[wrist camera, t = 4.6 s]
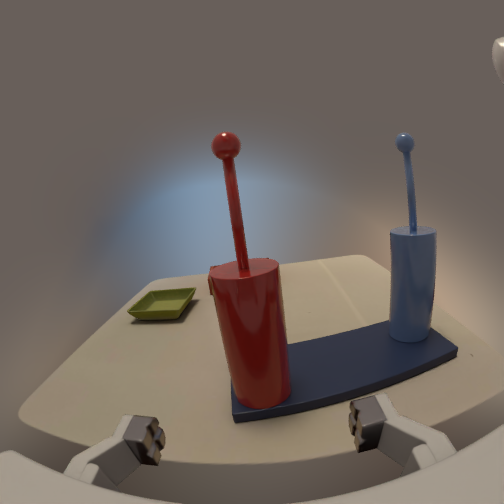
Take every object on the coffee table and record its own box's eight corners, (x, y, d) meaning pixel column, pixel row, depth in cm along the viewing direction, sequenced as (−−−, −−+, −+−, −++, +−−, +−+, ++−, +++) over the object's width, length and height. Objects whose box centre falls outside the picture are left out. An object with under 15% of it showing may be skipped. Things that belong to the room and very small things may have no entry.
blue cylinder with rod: (414, 317, 26) (408, 137, 22) (437, 334, 21) (436, 130, 18) (380, 327, 26) (370, 136, 22) (402, 347, 21) (397, 127, 17)
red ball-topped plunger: (285, 369, 22) (256, 135, 18) (297, 402, 18) (264, 118, 14) (234, 378, 22) (192, 144, 18) (236, 413, 17) (183, 129, 14)
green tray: (182, 323, 36) (178, 309, 36) (129, 324, 37) (125, 311, 37) (199, 299, 45) (196, 287, 44) (152, 302, 46) (149, 290, 45)
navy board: (410, 320, 27) (410, 312, 27) (456, 356, 19) (458, 347, 18) (231, 361, 26) (229, 353, 26) (234, 423, 18) (231, 414, 17)
